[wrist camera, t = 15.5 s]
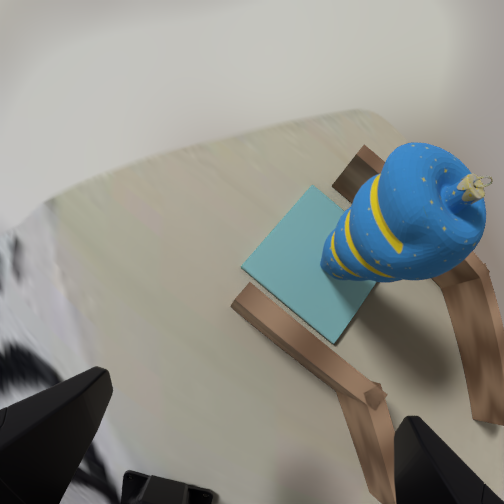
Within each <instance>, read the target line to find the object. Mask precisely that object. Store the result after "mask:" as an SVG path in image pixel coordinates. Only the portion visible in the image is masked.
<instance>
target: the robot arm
mask: <svg viewBox="0 0 504 504" xmlns="http://www.w3.org/2000/svg"><path fill="white" fill-rule="evenodd" d="M112 393H113V387H112V382H111V378H110V374H109V371H108V370H107V369H104V368H101V367H98V366H96V367H93V368H91V369H89V370H87V371H85V372H82V373H80V374H78V375H76V376H74V377H72V378H70V379H68V380H65V381H63V382H61V383H59V384H57V385H55V386H52V387H50V388H48V389H46V390H44V391H41V392H39V393H37V394H35V395H33V396H30V397H28V398H26V399H24V400H21V401H19V402H17V403H15V404H12V405H10V406H8V408H7V407H5V408H3V409H1V410H0V504H59V503H60V501H61V499H62V497H63V495H64V493H65V491H66V489H67V487H68V485H69V483H70V482H71V480H72V478H73V476H74V474H75V472H76V470H77V468H78V466H79V464H80V462H81V461H82V459H83V457H84V455H85V453H86V451H87V449H88V448H89V446H90V444H91V442H92V440H93V438H94V436H95V434H96V433H97V430H98V428H99V426H100V423H101V421H102V418H103V416H104V413H105V411H106V408H107V406H108V403H109V401H110V399H111V396H112ZM128 475H131V476H132V477H133V479H132V478H129V476H128ZM394 484H395V494H396V504H504V501H503V500H501V499H500V498H499V497H498V496H497V495H496V494H495V493H494V492H493V491H492V490H491V489H490V488H489V487H488V486H487V485H486V484H484V482H483V481H482V480H481V479H480V478H479V477H478V476H477V475H476V474H475V473H474V472H473V471H472V470H471V469H470V468H469V467H468V466H467V465H466V464H465V463H464V462H463V461H462V460H461V459H460V457H459V456H458V455H457V454H456V453H455V452H454V451H453V450H452V449H451V448H450V447H449V446H448V445H447V444H446V443H445V442H444V441H443V440H442V439H441V438H440V437H439V436H438V435H437V434H436V433H435V432H434V431H433V430H432V429H431V428H430V427H429V426H428V425H427V424H426V423H425V422H424V421H423V420H422V419H421V418H420V417H419V416H406V417H405V418H404V419H403V421H402V423H401V424H400V426H399V427H398V429H397V430H396V432H395V435H394ZM203 494H208V495H209V496H207V497H205V496H203ZM212 498H213V493H212V491H210V490H209V489H204V488H199V487H194V486H189V485H186V484H185V483H182V482H177V481H173V480H169V479H165V478H161V477H157V476H153V475H152V476H148V475H145V474H142V473H138V472H135V471H131V470H128V471H126V472H125V473H124V476H123V485H122V496H121V504H211V503H212Z"/></svg>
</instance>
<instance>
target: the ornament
mask: <svg viewBox="0 0 504 504" xmlns="http://www.w3.org/2000/svg"><path fill="white" fill-rule="evenodd" d="M482 178H490V179H491V182H490V183H488V184H486V185H483V183H482V182H481V180H480V179H482ZM491 183H492V178H491V177H490V176H481V177H477V176H476V175H475V174H472V173H471V172H470V171H469V169H468V168H467V167H466V166H465V165H464V164H463V163H462V162H461V161H460V160H459V159H458V158H456V157H455V156H454V155H452V154H451V153H449V152H447V151H445V150H444V149H442V148H440V147H436V146H433V145H430V144H426V143H407V144H404V145H401V146H399V147H397V148H396V149H395V150H394V151H393V152H392V153H391V154H390V155H389V157H388V158H387V160H386V162H385V164H384V166H383V169H382V171H381V174H377V175H375V176H373V177H372V178H370V179H369V180H368V181H367V182H365V183H364V184H363V185H362V186H361V188H360V189H359V191H358V192H357V194H356V195H355V198H354V200H353V203H352V206H351V207H350V208H349V209H347V210H346V211H345V212H344V213H343V215H342V216H341V217H340V219H339V221H338V223H337V225H336V228H335V229H334V230H333V231H332V232H331V233H330V234H329V235H328V237H327V239H326V240H325V243H324V247H323V252H322V258H321V261H320V266H321V268H322V269H323V270H325V271H326V272H327V273H328V274H329V275H330V276H332V277H333V278H335V279H337V280H352V281H366V280H371V281H376V282H394V281H399V280H402V279H405V280H424V279H429V278H433V277H437V276H439V275H442V274H444V273H445V272H447V271H449V270H451V269H453V268H454V267H456V266H457V265H458V264H459V263H461V262H462V261H463V260H464V259H465V258H466V257H467V256H468V255H469V254H470V253H471V252H472V251H473V250H474V249H475V247H476V246H477V244H478V243H479V241H480V239H481V237H482V235H483V232H484V228H485V223H486V209H485V202H484V198H483V197H484V196H485V195H484V187H486V186H489V185H490V184H491Z"/></svg>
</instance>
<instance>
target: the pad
mask: <svg viewBox="0 0 504 504" xmlns="http://www.w3.org/2000/svg"><path fill="white" fill-rule="evenodd" d="M344 212H345V211H343V210H342V209H341V208H340V207H339V206H338V205H336V204H335V203H334V202H333V201H332V200H330V199H329V198H328V197H327V196H326V195H324V194H323V193H322V192H321V191H320V190H318V189H317V188H316V187H315V186H313V185H312V186H311V187H310V188H309V189H308V190H307V191H306V192H305V194H304V195H303V196H302V197H301V198H300V199H299V200H298V202H297V203H296V204H295V205H294V206H293V207H292V208H291V210H290V211H289V212H288V213H287V214H286V215H285V216H284V218H283V219H282V220H281V221H280V222H279V223H278V224H277V226H276V227H275V228H274V229H273V230H272V231H271V232H270V234H269V235H268V236H267V237H266V238H265V239H264V240H263V242H262V243H261V244H260V245H259V246H258V247H257V248H256V250H255V251H254V252H253V253H252V254H251V255H250V256H249V258H248V259H247V260H246V261H245V262H244V263H243V264H242V266H241V268H242V269H243V270H244V271H246V272H247V273H248V274H249V275H250V276H251V277H253V278H254V279H255V280H256V281H257V282H259V283H260V284H261V285H262V286H263V287H264V288H266V289H267V290H268V291H269V292H270V293H272V294H273V295H274V296H275V297H276V298H278V299H279V300H280V301H281V302H282V303H284V304H285V305H286V306H287V307H288V308H290V309H291V310H292V311H293V312H294V313H296V314H297V315H298V316H299V317H300V318H302V319H303V320H304V321H305V322H306V323H308V324H309V325H310V326H311V327H312V328H314V329H315V330H316V331H317V332H318V333H320V334H321V335H322V336H323V337H325V338H326V339H327V340H328V341H329V342H331V343H332V344H334V343H335V341H336V340H337V339H338V337H339V336H340V335H341V333H342V332H343V330H344V329H345V328H346V326H347V325H348V323H349V322H350V321H351V319H352V318H353V316H354V315H355V313H356V312H357V310H358V309H359V307H360V306H361V305H362V303H363V302H364V300H365V299H366V297H367V296H368V294H369V293H370V291H371V289H372V288H373V286H374V285H375V283H376V281H371V280H366V281H352V280H337V279H335V278H333V277H332V276H330V275H329V274H328V273H327V272H326V271H325V270H323V269H322V268H321V266H320V261H321V258H322V252H323V247H324V243H325V240H326V239H327V237H328V235H329V234H330V233H331V232H332V231H333V230H334V229H335V228H336V225H337V223H338V221H339V219H340V217H341V216H342V215H343V213H344Z"/></svg>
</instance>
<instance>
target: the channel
mask: <svg viewBox="0 0 504 504" xmlns="http://www.w3.org/2000/svg"><path fill="white" fill-rule="evenodd" d="M384 164H385V162H384V161H383V160H382V159H381V158H380V157H378V156H377V155H376V154H375V153H374V152H373V151H371V150H370V149H369V148H368V147H367V146H365V145H363V147H362V148H361V149H360V150H359V152H358V153H357V154H356V155H355V157H354V158H353V159H352V161H351V162H350V163H349V164H348V166H347V167H346V168H345V170H344V171H343V172H342V173H341V175H340V176H339V177H338V178H337V180H336V181H335V182H334V184H333V185H332V187H333V188H335V189H336V190H337V191H338V192H339V193H341V194H342V195H343V196H344V197H345V198H346V199H348V200H349V201H350V202H351V203H353V200H354V198H355V195H356V194H357V192H358V191H359V189H360V188H361V186H362V185H363V184H364V183H365V182H367V181H368V180H369V179H370V178H372V177H373V176H375V175H377V174H381V171H382V169H383V166H384ZM489 272H490V271H489V270H488V269H487V267H486V264H483V263H482V261H481V260H480V259H479V258H478V257H477V255H475V253H474V252H473V251H472V252H471V253H470V254H469V255H468V256H467V257H466V258H465V259H464V260H463V261H462V262H461V263H459V264H458V265H457V266H456V267H454V268H453V269H451V270H449V271H447V272H445V273H444V274H442V275H439V276H437V277H433V278H432V279H433V280H434V281H435V282H436V283H437V284H438V285H439V287H440V288H441V289H442V292H443V295H444V298H445V301H446V305H447V308H448V311H449V314H450V318H451V321H452V325H453V328H454V332H455V335H456V339H457V343H458V347H459V351H460V355H461V359H462V363H463V368H464V372H465V377H466V382H467V387H468V392H469V398H470V403H471V410H472V416H473V419H475V420H479V421H484V422H488V423H493V424H498V425H503V426H504V328H503V324H502V320H501V316H500V311H499V307H498V303H497V300H496V296H495V293H494V289H493V286H492V282H491V279H490V276H489ZM231 307H232V308H233V309H234V310H235V311H236V312H238V313H239V314H240V315H241V316H242V317H244V318H245V319H246V320H247V321H248V322H250V323H251V324H252V325H253V326H254V327H256V328H257V329H258V330H259V331H260V332H262V333H263V334H264V335H265V336H267V337H268V338H269V339H270V340H271V341H273V342H274V343H275V344H276V345H278V346H279V347H280V348H281V349H283V350H284V351H285V352H286V353H288V354H289V355H290V356H291V357H293V358H294V359H295V360H296V361H298V362H299V363H300V364H301V365H303V366H304V367H305V368H307V369H308V370H309V371H310V372H312V373H313V374H314V375H316V376H317V377H318V378H319V379H321V380H322V381H323V382H325V383H326V384H327V385H329V386H330V387H331V388H333V389H334V390H335V391H336V393H337V396H338V399H339V402H340V405H341V407H342V410H343V413H344V416H345V419H346V422H347V425H348V428H349V431H350V434H351V437H352V440H353V443H354V446H355V449H356V452H357V455H358V458H359V461H360V464H361V467H362V470H363V473H364V476H365V479H366V483H367V486H368V489H369V492H370V493H371V494H372V495H373V496H374V497H375V498H376V499H377V500H378V501H380V502H381V503H382V504H396V494H395V484H394V435H395V432H394V428H393V425H392V421H391V417H390V414H389V410H388V407H387V404H386V400H385V397H386V396H387V394H386V393H385V392H384V391H383V390H382V387H381V384H379V383H376V382H372V381H370V380H369V379H367V378H366V377H365V376H363V375H362V374H361V373H360V372H358V371H357V370H356V369H355V368H354V367H352V366H351V365H350V364H349V363H347V362H346V361H345V360H344V359H342V358H341V357H340V356H339V355H337V354H336V353H335V352H334V351H332V350H331V349H330V348H329V347H328V346H326V345H325V344H324V343H323V342H321V341H320V340H319V339H318V338H317V337H315V336H314V335H313V334H312V333H310V332H309V331H308V330H307V329H306V328H304V327H303V326H302V325H301V324H300V323H298V322H297V321H296V320H295V319H293V318H292V317H291V316H290V315H289V314H287V313H286V312H285V311H284V310H283V309H281V308H280V307H279V306H278V305H277V304H275V303H274V302H273V301H272V300H271V299H269V298H268V297H267V296H266V295H265V294H264V293H262V292H261V291H260V290H259V289H258V288H256V287H255V286H254V285H253V284H252V283H251V282H249V283H248V285H247V286H246V287H245V288H244V289H243V290H242V292H241V293H240V294H239V295H238V296H237V297H236V298H235V300H234V301H233V303H232V304H231Z"/></svg>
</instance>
